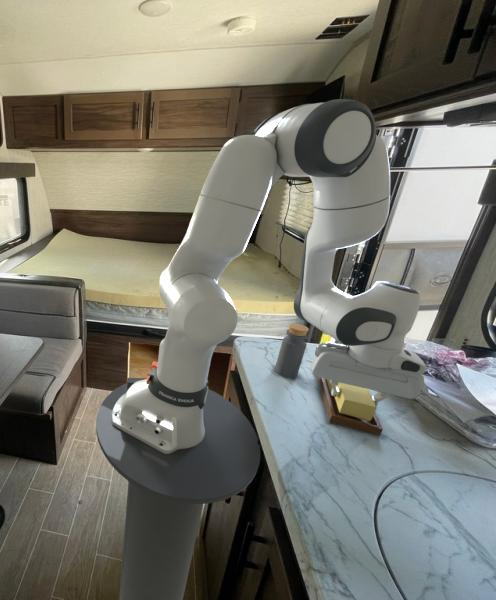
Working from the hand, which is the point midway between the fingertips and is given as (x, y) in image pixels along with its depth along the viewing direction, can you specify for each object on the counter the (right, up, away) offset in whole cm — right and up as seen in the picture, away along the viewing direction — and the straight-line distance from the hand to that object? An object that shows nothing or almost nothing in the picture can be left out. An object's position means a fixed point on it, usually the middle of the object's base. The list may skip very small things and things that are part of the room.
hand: (352, 399), depth 78 cm
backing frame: (+2, -2, +5) cm, 6 cm away
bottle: (-7, +3, +17) cm, 18 cm away
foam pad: (0, -2, +1) cm, 2 cm away
